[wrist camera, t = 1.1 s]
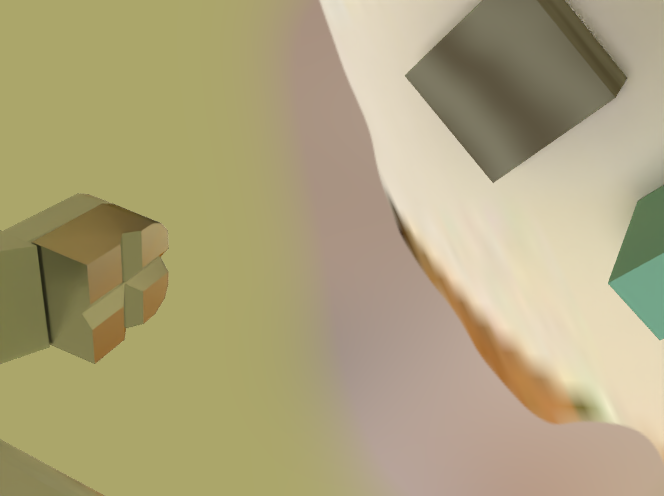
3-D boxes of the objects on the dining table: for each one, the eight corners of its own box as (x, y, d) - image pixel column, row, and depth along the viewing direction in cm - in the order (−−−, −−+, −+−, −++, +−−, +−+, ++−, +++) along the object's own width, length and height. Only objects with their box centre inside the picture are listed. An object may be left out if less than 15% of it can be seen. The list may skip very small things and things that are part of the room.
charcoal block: (534, -39, 42) (512, -30, 39) (627, 77, 43) (615, 97, 39) (431, 59, 49) (404, 75, 45) (512, 158, 49) (493, 182, 46)
